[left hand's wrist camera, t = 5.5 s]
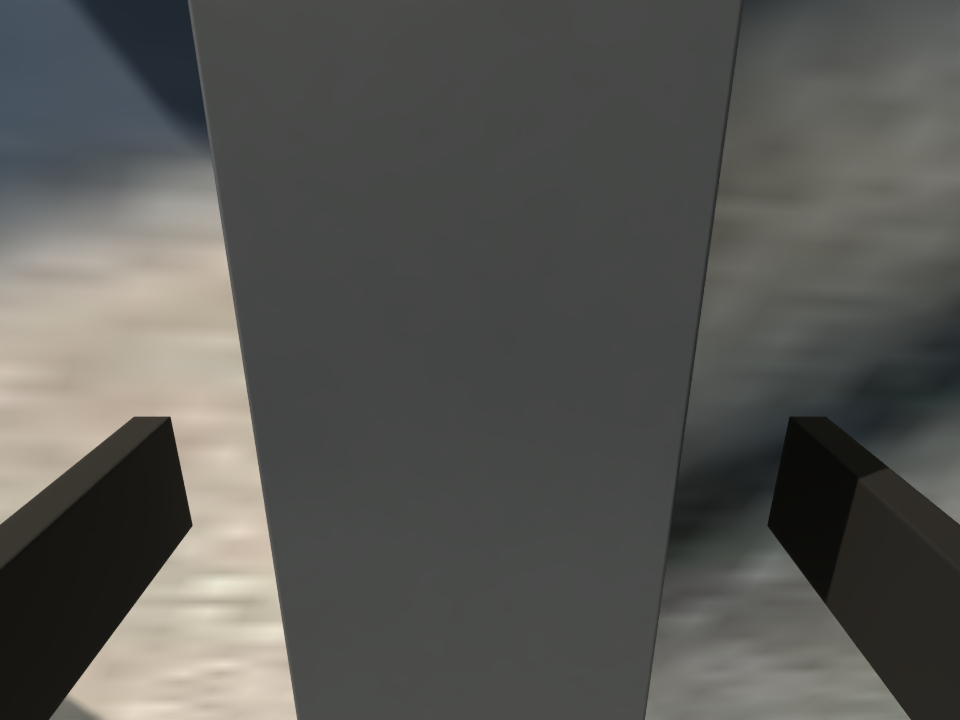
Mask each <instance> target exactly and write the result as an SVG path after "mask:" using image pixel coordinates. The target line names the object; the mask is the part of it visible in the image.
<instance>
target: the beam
mask: <svg viewBox="0 0 960 720" xmlns="http://www.w3.org/2000/svg"><path fill="white" fill-rule="evenodd" d="M743 3H744V0H188V6H189V12H190V19H191V25H192V32H193V38H194V45H195V52H196V58H197V65H198V71H199V78H200V84H201V91H202V97H203V104H204V111H205V117H206V124H207V130H208V137H209V143H210V150H211V156H212V163H213V170H214V176H215V183H216V189H217V196H218V202H219V209H220V215H221V222H222V229H223V235H224V242H225V248H226V255H227V261H228V268H229V274H230V281H231V288H232V294H233V301H234V307H235V314H236V320H237V327H238V333H239V340H240V347H241V353H242V360H243V366H244V373H245V379H246V386H247V392H248V399H249V406H250V412H251V419H252V425H253V432H254V438H255V445H256V451H257V458H258V465H259V471H260V478H261V484H262V491H263V497H264V504H265V510H266V517H267V524H268V530H269V537H270V543H271V550H272V556H273V563H274V569H275V576H276V583H277V589H278V596H279V602H280V609H281V615H282V622H283V628H284V635H285V642H286V648H287V655H288V661H289V668H290V674H291V681H292V687H293V694H294V701H295V707H296V714H297V720H645V714H646V707H647V699H648V692H649V685H650V678H651V670H652V663H653V656H654V649H655V641H656V634H657V627H658V620H659V612H660V605H661V598H662V591H663V583H664V576H665V569H666V562H667V554H668V547H669V540H670V532H671V525H672V518H673V511H674V503H675V496H676V489H677V482H678V474H679V467H680V460H681V453H682V445H683V438H684V431H685V424H686V416H687V409H688V402H689V395H690V387H691V380H692V373H693V366H694V358H695V351H696V344H697V337H698V329H699V322H700V315H701V308H702V300H703V293H704V286H705V279H706V271H707V264H708V257H709V250H710V242H711V235H712V228H713V220H714V213H715V206H716V199H717V191H718V184H719V177H720V170H721V162H722V155H723V148H724V141H725V133H726V126H727V119H728V112H729V104H730V97H731V90H732V83H733V75H734V68H735V61H736V54H737V46H738V39H739V32H740V25H741V17H742V10H743Z"/></svg>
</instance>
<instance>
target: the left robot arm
mask: <svg viewBox="0 0 960 720" xmlns="http://www.w3.org/2000/svg"><path fill="white" fill-rule="evenodd" d="M192 526H193V525H192V520H191V515H190V510H189V506H188V501H187V496H186V491H185V486H184V481H183V476H182V471H181V466H180V461H179V456H178V452H177V447H176V442H175V437H174V432H173V427H172V422H171V417H133V418H132V419H131V420H130V421H128V422H127V423H126V424H125V425H123V426H122V427H121V428H120V429H118V430H117V431H116V432H115V433H113V434H112V435H111V436H110V437H108V438H107V439H106V440H105V441H104V442H102V443H101V444H100V445H99V446H97V447H96V448H95V449H94V450H92V451H91V452H90V453H89V454H87V455H86V456H85V457H84V458H82V459H81V460H80V461H79V462H77V463H76V464H75V465H74V466H73V467H71V468H70V469H69V470H68V471H66V472H65V473H64V474H63V475H61V476H60V477H59V478H58V479H56V480H55V481H54V482H53V483H51V484H50V485H49V486H48V487H47V488H45V489H44V490H43V491H42V492H40V493H39V494H38V495H37V496H35V497H34V498H33V499H32V500H30V501H29V502H28V503H27V504H25V505H24V506H23V507H22V508H20V509H19V510H18V511H17V512H16V513H14V514H13V515H12V516H11V517H9V518H8V519H7V520H6V521H4V522H3V523H2V524H1V525H0V720H49V719H50V717H51V716H52V715H53V713H54V712H55V711H56V709H57V708H58V707H59V705H60V704H61V703H62V701H63V700H64V699H65V697H66V696H67V695H68V693H69V692H70V690H71V689H72V688H73V686H74V685H75V684H76V682H77V681H78V680H79V678H80V677H81V676H82V674H83V673H84V672H85V670H86V669H87V668H88V666H89V665H90V663H91V662H92V661H93V659H94V658H95V657H96V655H97V654H98V653H99V651H100V650H101V649H102V647H103V646H104V645H105V643H106V642H107V641H108V639H109V638H110V636H111V635H112V634H113V632H114V631H115V630H116V628H117V627H118V626H119V624H120V623H121V622H122V620H123V619H124V618H125V616H126V615H127V614H128V612H129V611H130V609H131V608H132V607H133V605H134V604H135V603H136V601H137V600H138V599H139V597H140V596H141V595H142V593H143V592H144V591H145V589H146V588H147V587H148V585H149V584H150V583H151V581H152V580H153V578H154V577H155V576H156V574H157V573H158V572H159V570H160V569H161V568H162V566H163V565H164V564H165V562H166V561H167V560H168V558H169V557H170V556H171V554H172V553H173V551H174V550H175V549H176V547H177V546H178V545H179V543H180V542H181V541H182V539H183V538H184V537H185V535H186V534H187V533H188V531H189V530H190V529H191V527H192ZM767 526H768V527H769V529H770V530H771V531H772V533H773V534H774V535H775V537H776V538H777V539H778V541H779V542H780V543H781V545H782V546H783V547H784V549H785V550H786V551H787V553H788V554H789V556H790V557H791V558H792V560H793V561H794V562H795V564H796V565H797V566H798V568H799V569H800V570H801V572H802V573H803V574H804V576H805V577H806V578H807V580H808V581H809V583H810V584H811V585H812V587H813V588H814V589H815V591H816V592H817V593H818V595H819V596H820V597H821V599H822V600H823V601H824V603H825V604H826V605H827V607H828V608H829V609H830V611H831V612H832V614H833V615H834V616H835V618H836V619H837V620H838V622H839V623H840V624H841V626H842V627H843V628H844V630H845V631H846V632H847V634H848V635H849V636H850V638H851V639H852V641H853V642H854V643H855V645H856V646H857V647H858V649H859V650H860V651H861V653H862V654H863V655H864V657H865V658H866V659H867V661H868V662H869V663H870V665H871V666H872V668H873V669H874V670H875V672H876V673H877V674H878V676H879V677H880V678H881V680H882V681H883V682H884V684H885V685H886V686H887V688H888V689H889V690H890V692H891V693H892V695H893V696H894V697H895V699H896V700H897V701H898V703H899V704H900V705H901V707H902V708H903V709H904V711H905V712H906V713H907V715H908V716H909V717H910V719H911V720H960V525H959V524H958V523H957V522H956V521H954V520H953V519H952V518H951V517H949V516H948V515H947V514H946V513H944V512H943V511H942V510H941V509H940V508H938V507H937V506H936V505H935V504H933V503H932V502H931V501H930V500H928V499H927V498H926V497H925V496H923V495H922V494H921V493H920V492H918V491H917V490H916V489H915V488H913V487H912V486H911V485H910V484H909V483H907V482H906V481H905V480H904V479H902V478H901V477H900V476H899V475H897V474H896V473H895V472H894V471H892V470H891V469H890V468H889V467H887V466H886V465H885V464H884V463H883V462H881V461H880V460H879V459H878V458H876V457H875V456H874V455H873V454H871V453H870V452H869V451H868V450H866V449H865V448H864V447H863V446H861V445H860V444H859V443H858V442H856V441H855V440H854V439H853V438H852V437H850V436H849V435H848V434H847V433H845V432H844V431H843V430H842V429H840V428H839V427H838V426H837V425H835V424H834V423H833V422H832V421H830V420H829V419H828V418H827V417H789V422H788V427H787V432H786V437H785V442H784V447H783V452H782V456H781V461H780V466H779V471H778V476H777V481H776V486H775V491H774V496H773V501H772V506H771V510H770V515H769V520H768V525H767Z"/></svg>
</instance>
